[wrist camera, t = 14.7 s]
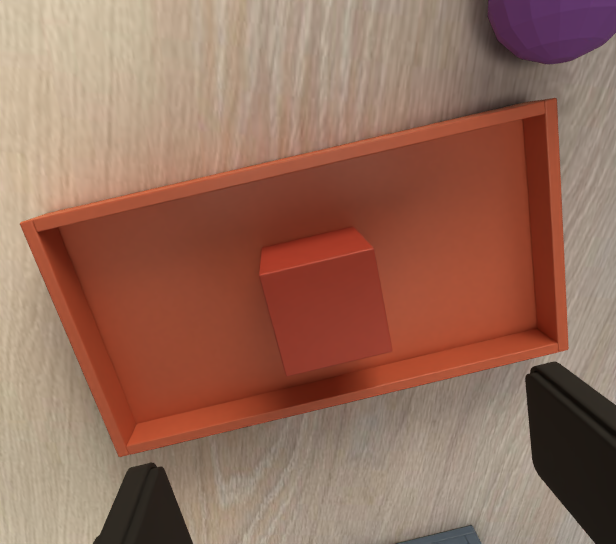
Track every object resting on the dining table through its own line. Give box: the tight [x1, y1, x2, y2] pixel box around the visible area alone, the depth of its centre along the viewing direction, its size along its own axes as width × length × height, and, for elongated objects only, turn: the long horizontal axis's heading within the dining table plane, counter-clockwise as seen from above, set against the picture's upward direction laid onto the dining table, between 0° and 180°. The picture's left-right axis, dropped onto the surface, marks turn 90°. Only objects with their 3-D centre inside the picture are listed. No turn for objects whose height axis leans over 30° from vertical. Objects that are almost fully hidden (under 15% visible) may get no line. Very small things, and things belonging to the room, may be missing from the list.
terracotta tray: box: [20, 98, 568, 457], centre depth 23 cm, size 25×13×3 cm, turn 102°
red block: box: [259, 226, 393, 377], centre depth 22 cm, size 5×5×5 cm
